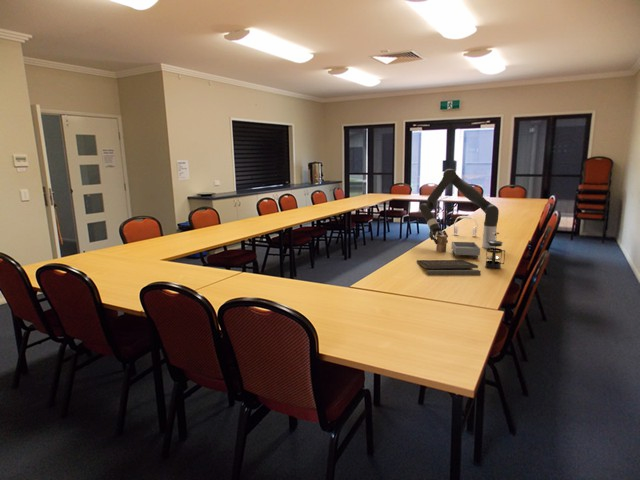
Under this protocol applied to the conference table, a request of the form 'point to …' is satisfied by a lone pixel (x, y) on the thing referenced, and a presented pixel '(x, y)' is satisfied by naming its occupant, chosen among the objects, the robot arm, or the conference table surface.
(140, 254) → the conference table surface
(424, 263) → the shutter
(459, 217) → the headset
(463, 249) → the shallow gray tray
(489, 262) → the french press
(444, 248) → the walnut block
